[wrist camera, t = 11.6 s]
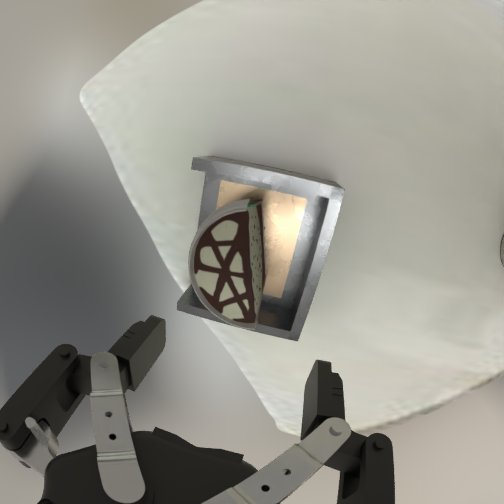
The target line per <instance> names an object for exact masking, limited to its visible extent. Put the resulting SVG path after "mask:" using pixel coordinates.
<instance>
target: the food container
mask: <svg viewBox="0 0 504 504" xmlns="http://www.w3.org/2000/svg"><path fill="white" fill-rule="evenodd" d="M249 202H250V199H245V200H239V201H235V202H232V203H228V204H226V205H224V206H222V207H220V208H218V209H217V210H216V211H214V212H213V213H211V214H210V215H209V216H208V217H207V218H206V219H205V220H204V221H203V223H202V224H201V226H200V227H199V229H198V230H197V233H196V235H195V237H194V239H193V242H192V244H191V248H190V251H189V260H188V265H189V275H190V279H191V283H192V286H193V288H194V291H195V293H196V294H197V296H198V298H199V299H200V301H201V302H202V303H203V304H204V306H205V307H206V308H207V309H208V310H209V311H210V312H211V313H212V314H214V315H215V316H217V317H218V318H219V319H221V320H223V321H225V322H227V323H229V324H231V325H234V326H236V327H240V328H244V329H251V330H255V328H256V326H257V324H258V321H257V318H258V313H259V309H260V304H261V300H262V295H263V291H264V286H265V281H266V277H267V272H266V253H265V234H264V216H263V200H262V201H254V202H251V203H249Z"/></svg>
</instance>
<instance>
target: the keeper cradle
mask: <svg viewBox="0 0 504 504" xmlns="http://www.w3.org/2000/svg"><path fill="white" fill-rule="evenodd" d="M191 169H193V170H199V171H205V172H206V175H205V182H204V188H203V195H202V202H201V209H200V216H199V224H198V229H199V227H200V226H201V224H202V223H203V221H204V220H205V219H206V218H207V217H208V216H209V215H210V214H211V213H213V212H214V211H216V210H217V209H218V208H220V207H222V206H224V205H226V204H228V203H232V202H235V201H239V200H245V199H250V202H249V203H251V202H254V201H262V200H263V216H264V234H265V253H266V272H267V277H266V281H265V286H264V291H263V295H262V300H261V304H260V309H259V313H258V318H257V321H258V324H257V326H256V328H255V330H251V329H247V330H251V331H255V332H259V333H263V334H267V335H272V336H276V337H280V338H285V339H289V340H294V341H298V339H299V336H300V334H301V331H302V328H303V325H304V323H305V320H306V317H307V314H308V311H309V308H310V305H311V302H312V300H313V297H314V294H315V291H316V287H317V284H318V281H319V278H320V275H321V272H322V269H323V266H324V262H325V259H326V256H327V252H328V249H329V246H330V242H331V239H332V235H333V232H334V228H335V225H336V221H337V218H338V214H339V210H340V206H341V203H342V199H343V195H344V191H345V189H343V188H342V187H341V186H340V185H338V184H337V183H335V182H331V181H327V180H323V179H319V178H316V177H312V176H307V175H303V174H299V173H295V172H291V171H286V170H282V169H277V168H272V167H268V166H263V165H258V164H253V163H248V162H242V161H237V160H231V159H226V158H220V157H214V156H206V157H193V161H192V167H191ZM177 310H179V311H183V312H186V313H189V314H192V315H196V316H199V317H203V318H206V319H210V320H213V321H217V322H220V323H224V324H228V325H231V324H229V323H227V322H225V321H223V320H221V319H219V318H218V317H217V316H215V315H214V314H212V313H211V312H210V311H209V310H208V309H207V308H206V307H205V306H204V304H203V303H202V302H201V301H200V299H199V298H198V296H197V294H196V293H195V291H194V288H193V286H192V284H191V285H190V286H189V287H188V289H187V290H186V291H185V293H184V294H183V295H182V296H181V298H180V299H179V300H178V302H177ZM231 326H234V325H231ZM235 327H236V326H235ZM239 328H240V327H239ZM243 329H244V328H243Z"/></svg>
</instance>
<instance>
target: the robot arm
mask: <svg viewBox="0 0 504 504" xmlns="http://www.w3.org/2000/svg"><path fill="white" fill-rule="evenodd" d="M501 260H502V263H503V265H504V236H503V240H502V245H501ZM165 330H166V329H165V320H164V319H162V318H159V317H156V316H153V315H151V316H150V317H149V318H148V319H147V320H146V321H145V322H143V321H139V322H137V323H135V324H133V325H132V326H131V327H130V328H129V329H128V330H127V331H126V332H125V333H124V334H123V336H122V337H121V338H120V339H119V340H118V341H117V342H116V343H115V344H114V345H113V346H112V348H111V349H110V350H109V351H108V352H100V353H97V354H95V355H94V356H93V357H90V356H85V355H80V354H78V352H77V350H76V348H75V347H74V346H72V345H70V344H62V345H60V346H58V347H57V348H55V349H54V350H53V351H52V352H51V354H50V355H49V356H48V357H47V358H46V359H45V360H44V361H43V362H42V363H41V364H40V365H39V366H38V367H37V368H36V370H35V371H34V372H33V373H32V374H31V375H30V376H29V377H28V378H27V379H26V380H25V382H24V383H23V384H22V385H21V386H20V387H19V388H18V390H17V391H16V392H15V393H14V394H13V395H12V397H11V398H10V399H9V400H8V401H7V403H6V404H5V405H4V406H3V407H2V408H1V410H0V442H1V444H2V445H3V446H4V448H5V449H6V450H7V451H9V453H10V454H11V455H12V456H13V457H14V458H16V459H17V460H19V462H21V463H22V464H23V465H24V466H26V467H28V468H32V469H34V470H35V471H37V472H38V473H39V474H41V475H42V476H43V477H44V478H45V479H44V480H45V481H44V490H43V495H42V498H41V500H40V501H39V502H38V503H37V504H280V503H281V502H282V501H283V500H284V499H286V498H287V497H288V496H290V495H291V494H292V493H293V492H294V491H295V490H297V489H298V488H299V487H300V486H301V485H302V484H303V483H304V482H306V481H307V480H308V479H309V478H310V477H311V476H312V475H313V474H315V473H316V472H317V471H318V470H319V469H320V468H321V467H322V466H323V465H325V466H328V467H331V468H333V469H336V470H339V471H340V480H339V490H338V499H337V504H395V485H394V484H395V482H394V464H393V463H394V462H393V448H392V442H391V440H390V439H389V438H388V437H387V436H386V435H384V434H380V433H374V434H371V435H370V436H369V437H366V436H363V435H361V434H358V433H355V432H354V431H352V430H351V428H350V426H349V424H348V423H347V422H346V421H345V409H344V397H343V395H344V394H343V382H342V379H341V378H340V376H339V374H338V373H333V372H332V370H331V362H327V361H322V360H316V361H315V363H314V365H313V368H312V370H311V372H310V374H309V377H308V379H307V381H306V385H305V391H304V405H303V418H302V429H301V440H302V441H301V442H300V443H299V444H294V445H293V446H292V447H290V448H289V449H288V450H286V451H285V452H284V453H283V454H281V455H280V456H279V457H277V458H276V459H275V460H273V461H272V462H271V463H269V464H268V465H266V466H265V467H263V468H262V469H261V470H259V471H258V470H257V469H256V468H254V467H253V466H252V465H251V464H249V463H247V462H245V461H243V460H242V459H243V456H244V455H242V454H238V453H234V452H230V451H226V450H223V449H213V448H200V447H196V446H194V445H192V444H190V443H189V442H187V441H185V440H184V439H182V438H180V437H179V436H177V435H175V434H172V433H170V432H168V431H165V430H162V429H159V428H157V427H155V429H154V431H153V432H151V431H136V432H133V429H132V425H131V421H130V417H129V412H128V408H127V403H126V398H125V392H126V390H127V389H130V390H132V391H135V390H136V389H137V387H138V386H139V384H140V383H141V382H142V380H143V379H144V377H145V376H146V374H147V373H148V371H149V370H150V368H151V367H152V365H153V364H154V363H155V361H156V360H157V358H158V357H159V355H160V354H161V352H162V351H163V349H164V347H165V342H166V337H165V335H166V334H165V333H166V331H165ZM85 395H90V402H91V412H92V421H93V429H94V435H95V442H96V445H92V446H89V447H86V448H82V449H79V450H76V451H72V452H68V453H65V454H61V455H58V456H56V454H57V450H58V447H59V443H58V439H57V436H58V434H59V433H60V431H61V430H62V429H63V427H64V426H65V424H66V423H67V421H68V420H69V418H70V417H71V415H72V414H73V413H74V411H75V410H76V408H77V407H78V405H79V404H80V402H81V401H82V400H83V398H84V397H85Z"/></svg>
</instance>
